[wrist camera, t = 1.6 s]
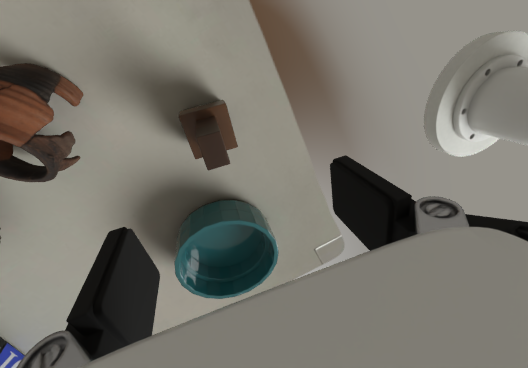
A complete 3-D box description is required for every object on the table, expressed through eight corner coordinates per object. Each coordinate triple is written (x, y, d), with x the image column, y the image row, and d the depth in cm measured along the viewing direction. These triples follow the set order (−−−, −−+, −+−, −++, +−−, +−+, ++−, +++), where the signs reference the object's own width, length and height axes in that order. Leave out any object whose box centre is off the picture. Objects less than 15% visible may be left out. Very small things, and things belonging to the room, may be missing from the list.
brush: (221, 97, 27) (233, 115, 19) (233, 137, 30) (248, 168, 21) (180, 108, 27) (173, 131, 18) (195, 147, 29) (195, 184, 21)
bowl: (257, 185, 34) (267, 206, 29) (274, 252, 41) (285, 278, 36) (161, 216, 32) (156, 243, 27) (196, 280, 39) (196, 310, 34)
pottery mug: (118, 107, 26) (86, 167, 21) (74, 142, 30) (40, 198, 25) (-43, -9, 17) (-156, 48, 12) (-73, 61, 21) (-167, 124, 17)
